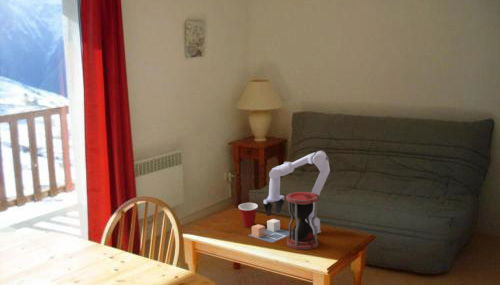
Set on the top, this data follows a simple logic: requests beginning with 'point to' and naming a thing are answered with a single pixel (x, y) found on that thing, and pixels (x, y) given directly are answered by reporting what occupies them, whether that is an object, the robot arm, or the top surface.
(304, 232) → the hourglass
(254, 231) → the terracotta block
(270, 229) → the offwhite block
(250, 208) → the plastic cup
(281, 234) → the mat
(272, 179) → the robot arm
